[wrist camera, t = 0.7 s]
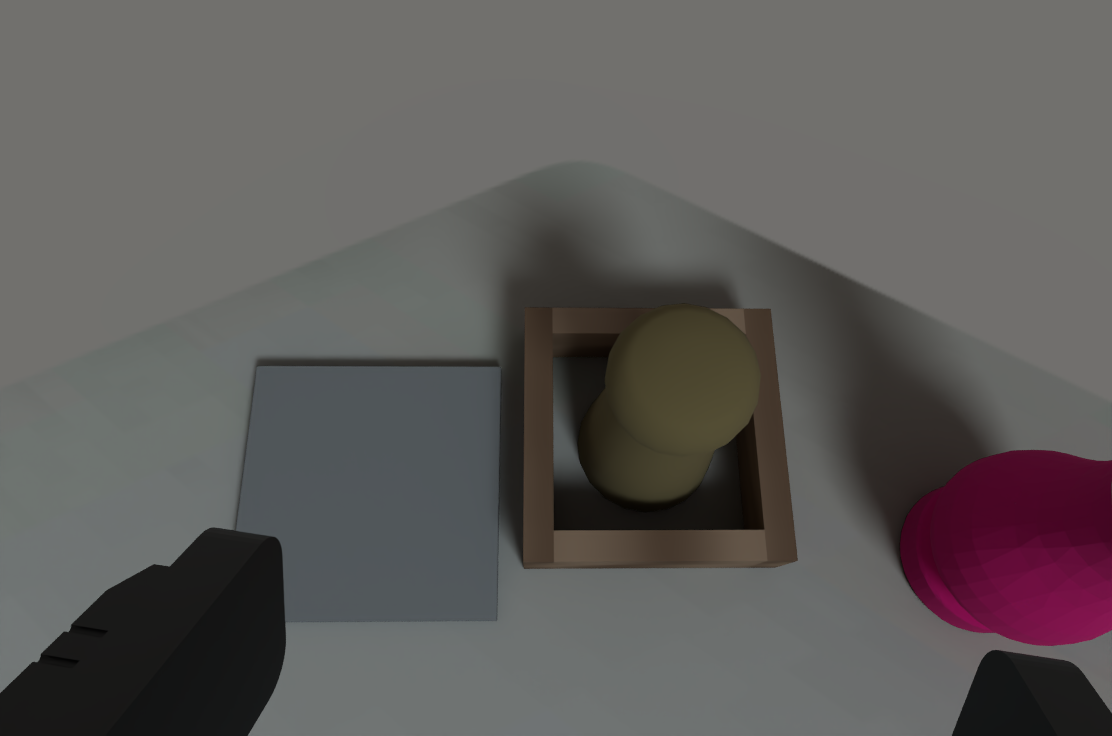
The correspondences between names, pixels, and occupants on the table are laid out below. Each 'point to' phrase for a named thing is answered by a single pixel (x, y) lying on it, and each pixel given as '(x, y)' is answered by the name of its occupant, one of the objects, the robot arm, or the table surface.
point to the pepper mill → (1017, 547)
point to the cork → (667, 406)
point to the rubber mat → (378, 489)
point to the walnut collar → (753, 547)
